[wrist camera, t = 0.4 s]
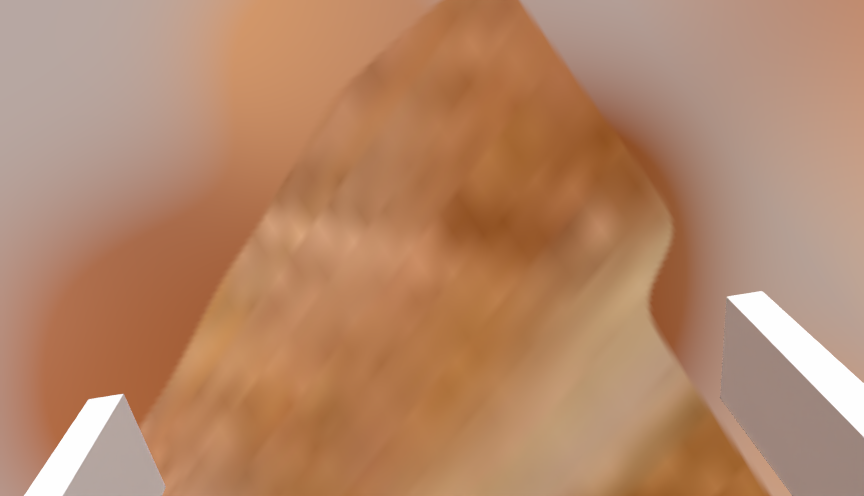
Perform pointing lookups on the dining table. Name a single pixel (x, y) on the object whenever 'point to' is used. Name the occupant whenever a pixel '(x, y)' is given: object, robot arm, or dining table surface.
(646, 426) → the dining table surface
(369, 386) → the dining table surface
